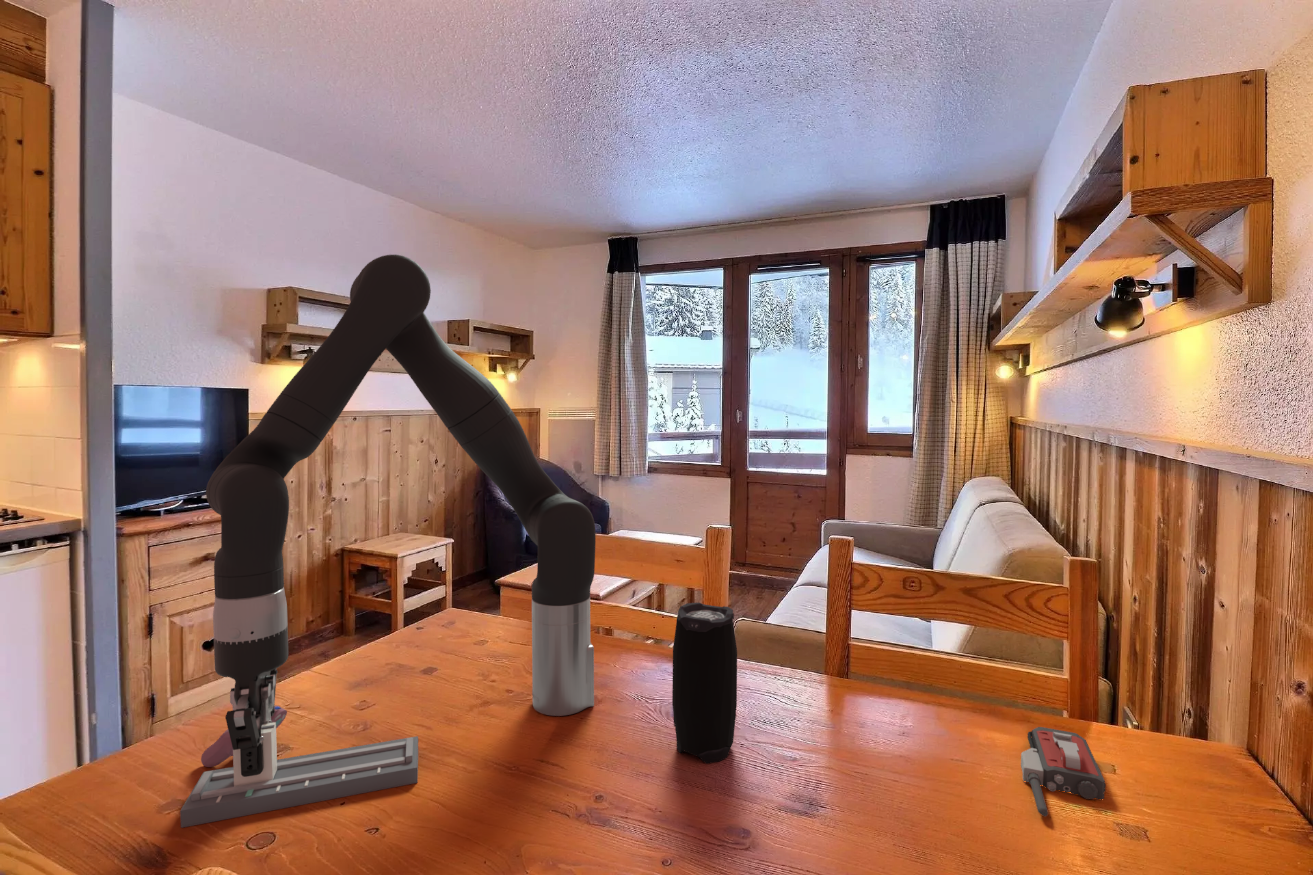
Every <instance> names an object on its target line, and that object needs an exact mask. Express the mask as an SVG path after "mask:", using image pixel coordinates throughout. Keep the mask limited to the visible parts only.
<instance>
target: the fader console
mask: <svg viewBox="0 0 1313 875" xmlns="http://www.w3.org/2000/svg"><path fill="white" fill-rule="evenodd" d="M418 769H419V736H418V735H417V736H411V737H405V738H397V739H392V740H387V741H380V742H375V743H368V744H364V745H357V746H351V747H346V748H345V747H344V748H339V749H334V750H328V751H321V752H315V753H309V754H303V755H297V756H292V757H285V758H279V759H278V758H277V771H276V773H275V775H274V778H273V780H269V781H264V782H258V783H252V784H247V785H241V786H235V787H234V767H233V766H232V767H225V768H220V769H213V770H207V771H203V773H202V774H201V776H200V777H199V779H198V781H197V782H196V784H195V785H194V787H193V788H192V790H191V792H190V794H189V796H188V797H187V798H186V801H185V802H184V804H183V805H182V807H181V809H180V812H179V814H180V815H179V816H180V828H187V827H192V826H197V825H203V824H207V823H213V822H218V821H224V820H229V819H234V818H240V817H244V816H250V815H255V814H260V813H265V812H272V811H277V810H281V809H287V808H293V807H297V806H302V805H303V806H304V805H309V804H313V803H318V802H323V801H324V802H325V801H329V800H335V799H338V798H345V797H350V796H355V795H361V794H366V793H372V792H376V791H381V790H382V791H383V790H386V789H393V788H396V787H397V788H398V787H402V786H408V785H412V784H417V783H418V782H419V780H418V779H419V777H418V776H419V770H418Z"/></svg>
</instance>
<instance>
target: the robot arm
mask: <svg viewBox="0 0 1313 875" xmlns="http://www.w3.org/2000/svg"><path fill="white" fill-rule="evenodd" d="M431 289H432V288H431V282H430V280H429V277H428V275H427V273H426V272H425V270H424V269H423V267H422V266H421V265H420V264H419V263H418V262H416V260H415V261H414V260H413V259H411V258H409V257H407V256H405V255H402V254H401V255H399V254H385V255H382V256H379V257H376V258H374V259H372V260H371V261H369V262H368V263H367V264H365V266H364V267H363V268H362V269H361V271H360V272H359V274H358V275H356V278H354V280H353V282H352V284H351V287H350V291H349V300H350V303H349V305H348V307H347V308H346V310H345V312H344V313H343V315H342V316H341V318H340V319H339V321H338V322H337V324H336V325H335V327H334V328H333V330H332V331H331V332H330V334H328V336H327V338H325V339H324V341H323V342H322V344H321V345H320V346H319V347H318V348H317V350H315V352H314V353H313V354H312V355H310V358H309V359H307V361H306V362H305V363H304V364H303V366H302V367H301V368H299V370H298V371H297V372H296V373H295V375H294V376H293V377H292V378H291V380H290V381H289V382H288V383H287V385H286V386H284V388H283V389H282V391H281V392H280V394H279V395H278V396H277V397H276V399H275V400H274V401H273V403H272V404H271V405H270V406H269V408H268V409H267V411H266V412H265V414H264V415H263V417H262V418H261V419H260V421H259V423H257V425H256V427H255V428H253V430H252V431H251V432H250V433H249V434H247V436H245V437H244V438H243V439H242V440H241V441H240V442H239V443H238V445H236V446H235V447H234V448H233V449H232V450H231V452H230V453H228V454H227V455H226V457H224V459H223V460H222V462H220V464H219V465H218V466H217V467H216V469H215V470H214V472H213V473H212V474H211V475H210V478H209V480H208V482H207V484H206V490H205V495H206V496H205V497H206V500H207V504H208V505H209V507H210V508H211V509H212V511H214V512H215V513H216V514H217V515H219V516H220V523H221V524H220V525H221V533H220V535H221V537H220V541H221V542H220V548H219V549H218V550H217V551H216V553H215V556H214V563H213V575H214V576H213V580H214V581H213V582H214V584H213V585H214V605H213V613H212V625H213V626H212V627H213V630H212V631H213V653H214V654H213V655H214V656H213V657H214V671H215V673H216V674H217V675H218V676H220V677H223V678H230V679H232V680H234V687H231V688H230V692H229V704H231V705H232V710H227V712H226V714H225V722H226V727H227V729H228V730H229V735H230V739H231V743H232V747H233V750H237V749H240V757H241V775H242V776H243V777H247V776H253V775H259V774H260V773H261V772H262V771H263V768H264V760H263V740H264V736H263V724H267V723H272V720H271V716H273V715H274V713H275V709H274V706H275V705H276V704H275V703H276V689H277V688H276V686H277V675H278V672H279V671H278V668H279V667H281V666H282V665H283V664H285V663H286V662H287V660H288V659H289V632H288V630H289V627H288V605H287V598H286V592H285V580H284V579H285V577H284V572H285V570H284V556H283V550H284V549H283V548H284V545H285V544H284V543H285V540H286V536H287V535H286V533H287V528H288V520H289V512H290V496H289V490H288V487H287V486H288V485H287V484H286V481H285V477H286V476H288V474H289V472H290V471H291V470H292V469H293V468H294V466H296V465H297V463H299V462H300V461H303V460H305V459H307V458H309V457H310V456H311V455H312V454H314V452H316V449H318V447H319V446H320V445H321V442H322V441H323V440H324V439H325V437H326V436H327V434H329V432H330V430H331V429H332V427H333V426H334V424H335V422H336V421H337V420H338V419H339V417H340V415H341V414H342V413H343V411H344V410H345V408H346V406H347V405H348V403H349V401H351V399H352V397H353V395H354V394H355V392H356V391H357V390H358V388H359V386H360V385H361V383H362V382H363V380H364V379H365V377H366V376H367V374H368V373H369V372H370V370H371V368H372V367H373V365H374V364H375V363H376V362H377V360H378V358H380V356H381V355H382V354H383V352H384V351H385V350H387V351H388V352H389V353H390V355H391V356H392V357H393V358H394V359H395V360H396V362H397V363H399V365H401V366H402V368H403V369H404V370H405V372H406V373H407V375H408V376H409V377H410V379H411V380H412V381H413V383H414V384H415V386H416V388H417V389H418V390H419V392H420V393H421V394H422V396H423V397H424V399H425V400H426V402H428V404H429V405H430V406H431V408H432V409H433V410H434V412H435V413H436V414H437V416H438V417H439V419H440V420H441V422H442V423H443V424H444V426H445V427H446V428H447V430H448V432H450V434H451V435H452V436H453V438H454V439H455V440H456V441H457V443H458V444H459V446H460V447H461V448H462V449H463V450H464V452H466V454H467V455H468V456H469V457H470V458H471V460H472V461H473V462H474V463H475V464H476V466H477V467H478V468H479V469H480V471H482V472H483V473H484V474H485V475H486V476H487V478H488V479H489V480H491V482H492V483H493V484H494V485H496V487H497V488H498V489H499V490H500V491H501V493H502V494H503V496H505V498H506V500H507V502H508V503H509V505H510V506H511V508H512V509H513V510H514V512H515V514H516V515H517V517H518V519H519V521H520V523H521V524H522V527H523V528H524V529H525V531H526V534H527V535H528V536H529V538H530V540H531V541H532V542H533V544H535V546H537V572H536V573H537V574H536V577H535V578H534V579H533V581H532V583H531V655H532V656H531V657H532V658H531V661H532V662H531V663H532V666H531V667H532V668H531V669H532V676H531V677H532V682H531V683H532V688H531V689H532V691H531V692H532V693H531V695H532V707H533V709H534V711H536V712H538V713H540V714H543V715H547V716H553V717H555V716H556V717H557V716H558V717H560V716H561V717H562V716H568V715H569V716H570V715H573V714H576V713H579V712H581V711H584V710H585V709H587V708H589V707H594V706H595V648H594V645H593V644H592V642H591V588H592V583H593V581H594V577H595V570H596V568H595V567H596V566H595V564H596V538H597V537H596V536H597V535H596V534H597V533H596V523H595V519H594V517H593V513H592V512H591V510H590V509H589V508H588V506H586V505H584V504H583V503H582V502H580V501H578V500H576V499H573V498H571V497H569V496H567V495H566V494H565V493H564V492H563V491H562V490H561V489H560V488H559V487H558V486H557V485H556V484H555V482H554V481H553V479H551V477H550V476H549V475H548V474H547V473H546V472H545V470H544V468H543V467H542V466H541V465H540V463H539V462H538V460H537V458H536V456H535V454H534V451H533V449H532V447H531V444H530V443H529V440H528V437H527V435H526V433H525V431H524V428H523V426H522V425H521V422H520V421H519V419H518V418H517V416H516V415H515V412H514V411H513V410H512V409H511V407H510V406H509V404H508V403H507V401H506V400H505V399H504V397H503V396H502V394H501V393H500V392H499V390H498V389H497V388H496V387H495V385H494V384H493V383H492V382H491V381H490V380H489V379H488V378H487V377H486V376H484V374H483V373H481V372H480V371H479V370H478V369H477V368H476V367H474V366H473V365H471V364H470V363H469V362H467V361H466V360H465V359H464V358H462V357H461V356H460V355H459V354H457V353H456V352H455V351H454V350H452V348H451V347H450V346H448V344H446V342H445V341H444V340H443V339H442V337H441V336H440V335H439V333H438V332H437V330H436V329H435V326H433V325H432V323H431V321H430V320H429V319H428V317H427V315H426V314H425V311H426V310H427V308H428V305H429V302H430V299H431V291H432V290H431Z"/></svg>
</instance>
